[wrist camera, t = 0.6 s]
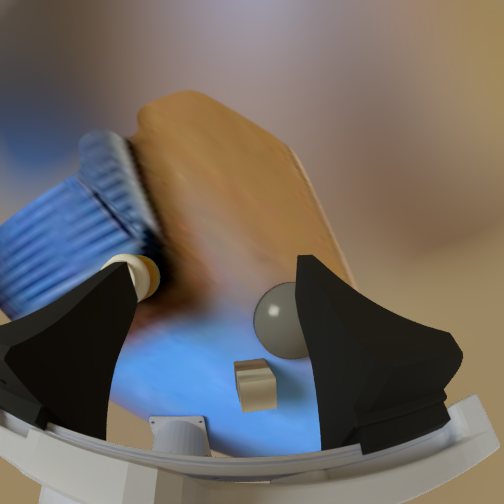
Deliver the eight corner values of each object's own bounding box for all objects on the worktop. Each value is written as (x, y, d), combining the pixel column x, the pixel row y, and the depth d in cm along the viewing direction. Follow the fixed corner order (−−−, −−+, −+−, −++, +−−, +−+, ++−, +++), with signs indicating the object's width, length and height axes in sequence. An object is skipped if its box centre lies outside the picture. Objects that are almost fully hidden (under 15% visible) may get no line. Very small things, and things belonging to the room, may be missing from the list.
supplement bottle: (154, 250, 33) (134, 245, 23) (165, 292, 33) (149, 302, 23) (116, 261, 32) (85, 260, 22) (127, 302, 32) (100, 315, 22)
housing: (265, 384, 34) (277, 407, 27) (236, 387, 34) (242, 412, 27) (263, 358, 34) (275, 378, 27) (233, 361, 34) (239, 383, 27)
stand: (325, 348, 36) (331, 352, 34) (256, 359, 34) (258, 364, 32) (323, 278, 36) (329, 279, 34) (250, 285, 34) (253, 286, 32)
